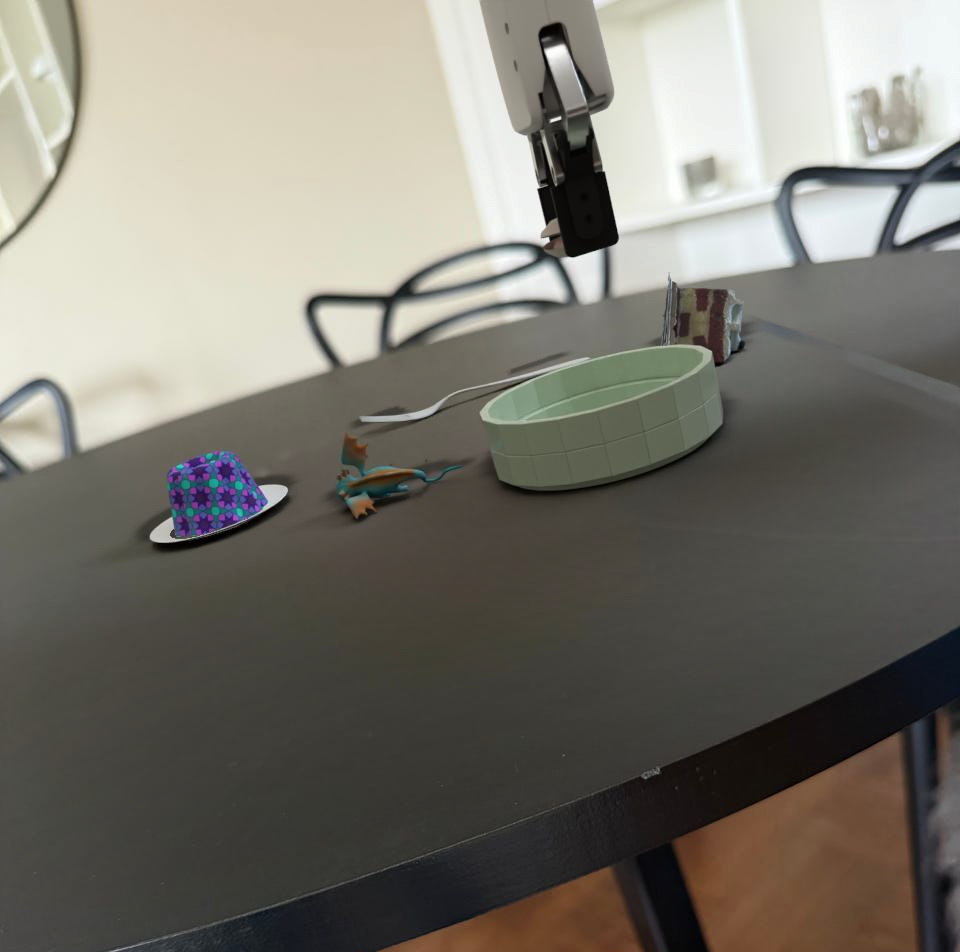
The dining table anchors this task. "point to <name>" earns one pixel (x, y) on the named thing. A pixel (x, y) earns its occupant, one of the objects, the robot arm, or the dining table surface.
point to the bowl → (604, 418)
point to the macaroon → (555, 245)
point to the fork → (435, 407)
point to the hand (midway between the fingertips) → (584, 245)
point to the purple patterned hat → (213, 497)
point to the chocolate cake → (703, 319)
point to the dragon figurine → (371, 478)
